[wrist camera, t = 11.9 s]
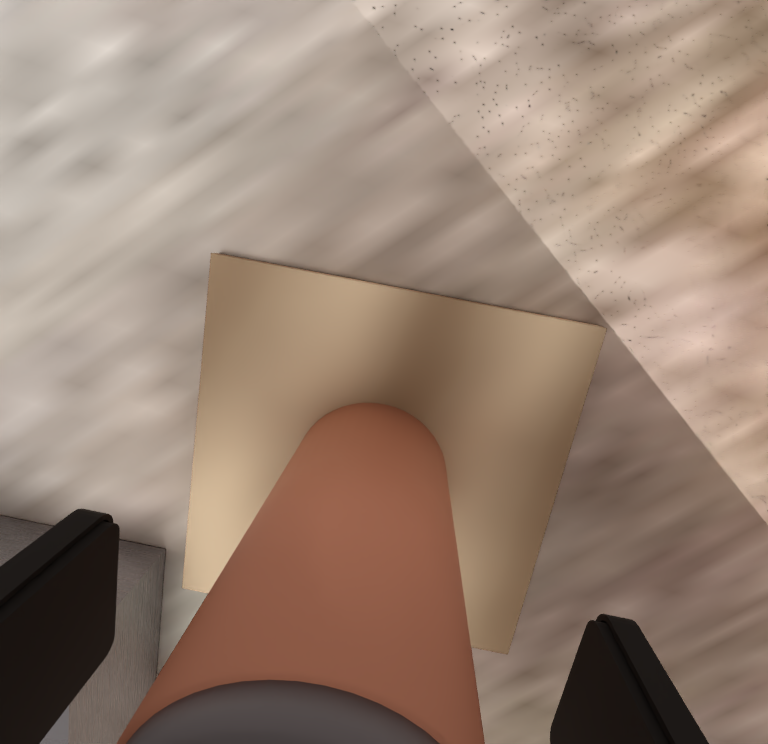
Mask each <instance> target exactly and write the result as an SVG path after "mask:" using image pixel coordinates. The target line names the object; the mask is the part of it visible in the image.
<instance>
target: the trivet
mask: <svg viewBox="0 0 768 744" xmlns="http://www.w3.org/2000/svg"><path fill="white" fill-rule="evenodd" d="M606 330H607V328H604V327H602V326H599V325H594V324H588V323H583V322H578V321H572V320H567V319H562V318H557V317H551V316H546V315H541V314H536V313H530V312H525V311H520V310H515V309H509V308H504V307H499V306H493V305H488V304H483V303H478V302H472V301H467V300H462V299H457V298H451V297H446V296H441V295H436V294H430V293H425V292H420V291H414V290H409V289H404V288H399V287H393V286H388V285H383V284H378V283H372V282H367V281H362V280H357V279H351V278H346V277H341V276H336V275H330V274H325V273H320V272H314V271H309V270H304V269H299V268H293V267H288V266H283V265H278V264H272V263H267V262H262V261H257V260H251V259H246V258H241V257H235V256H230V255H225V254H220V253H211V259H210V271H209V282H208V294H207V306H206V317H205V329H204V340H203V352H202V363H201V375H200V386H199V398H198V409H197V421H196V432H195V444H194V456H193V467H192V479H191V490H190V502H189V513H188V525H187V536H186V548H185V559H184V571H183V583H182V588H184V589H189V590H194V591H199V592H204V593H209V592H210V590H211V588H212V587H213V585H214V583H215V582H216V580H217V578H218V577H219V575H220V574H221V572H222V570H223V569H224V567H225V565H226V564H227V562H228V561H229V559H230V557H231V556H232V554H233V552H234V551H235V549H236V547H237V546H238V544H239V543H240V541H241V539H242V538H243V536H244V534H245V533H246V531H247V530H248V528H249V526H250V525H251V523H252V521H253V520H254V518H255V517H256V515H257V513H258V512H259V510H260V508H261V507H262V505H263V503H264V502H265V500H266V499H267V497H268V495H269V494H270V492H271V490H272V489H273V487H274V486H275V484H276V482H277V481H278V479H279V477H280V476H281V474H282V473H283V471H284V469H285V468H286V466H287V464H288V463H289V461H290V459H291V458H292V456H293V455H294V453H295V451H296V450H297V448H298V446H299V445H300V443H301V442H302V440H303V438H304V437H305V435H306V434H307V432H308V431H309V430H310V428H311V427H312V426H313V425H314V424H315V423H316V422H317V421H318V420H319V419H321V418H322V417H323V416H325V415H326V414H328V413H330V412H332V411H333V410H335V409H338V408H341V407H343V406H347V405H351V404H356V403H379V404H385V405H389V406H393V407H396V408H398V409H401V410H403V411H405V412H407V413H409V414H410V415H412V416H414V417H415V418H416V419H418V420H419V421H420V422H421V423H423V424H424V425H425V426H426V427H427V428H428V429H429V431H430V432H431V433H432V435H433V436H434V437H435V439H436V441H437V442H438V444H439V446H440V448H441V451H442V453H443V457H444V460H445V465H446V472H447V479H448V486H449V494H450V501H451V508H452V515H453V522H454V529H455V536H456V543H457V550H458V557H459V565H460V572H461V579H462V586H463V593H464V600H465V607H466V614H467V621H468V628H469V635H470V643H471V647H473V648H478V649H483V650H487V651H492V652H497V653H502V654H507V655H508V652H509V648H510V645H511V642H512V639H513V635H514V632H515V629H516V625H517V622H518V619H519V616H520V612H521V609H522V606H523V602H524V599H525V596H526V593H527V589H528V586H529V583H530V580H531V576H532V573H533V570H534V566H535V563H536V560H537V557H538V553H539V550H540V547H541V543H542V540H543V537H544V534H545V530H546V527H547V524H548V520H549V517H550V514H551V511H552V507H553V504H554V501H555V498H556V494H557V491H558V488H559V484H560V481H561V478H562V475H563V471H564V468H565V465H566V461H567V458H568V455H569V452H570V448H571V445H572V442H573V438H574V435H575V432H576V429H577V425H578V422H579V419H580V416H581V412H582V409H583V406H584V402H585V399H586V396H587V393H588V389H589V386H590V383H591V379H592V376H593V373H594V370H595V366H596V363H597V360H598V357H599V353H600V350H601V347H602V343H603V340H604V337H605V334H606Z"/></svg>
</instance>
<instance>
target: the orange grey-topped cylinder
mask: <svg viewBox="0 0 768 744" xmlns="http://www.w3.org/2000/svg"><path fill="white" fill-rule="evenodd" d="M117 744H485V742H484V735H483V728H482V721H481V713H480V706H479V699H478V692H477V685H476V678H475V671H474V664H473V657H472V650H471V643H470V635H469V628H468V621H467V614H466V607H465V600H464V593H463V586H462V579H461V572H460V565H459V557H458V550H457V543H456V536H455V529H454V522H453V515H452V508H451V501H450V494H449V486H448V479H447V472H446V465H445V460H444V457H443V453H442V451H441V448H440V446H439V444H438V442H437V441H436V439H435V437H434V436H433V435H432V433H431V432H430V431H429V429H428V428H427V427H426V426H425V425H424V424H423V423H421V422H420V421H419V420H418V419H416V418H415V417H414V416H412V415H410V414H409V413H407V412H405V411H403V410H401V409H398V408H396V407H393V406H389V405H385V404H379V403H356V404H351V405H347V406H343V407H341V408H338V409H335V410H333V411H332V412H330V413H328V414H326V415H325V416H323V417H322V418H321V419H319V420H318V421H317V422H316V423H315V424H314V425H313V426H312V427H311V428H310V430H309V431H308V432H307V434H306V435H305V437H304V438H303V440H302V442H301V443H300V445H299V446H298V448H297V450H296V451H295V453H294V455H293V456H292V458H291V459H290V461H289V463H288V464H287V466H286V468H285V469H284V471H283V473H282V474H281V476H280V477H279V479H278V481H277V482H276V484H275V486H274V487H273V489H272V490H271V492H270V494H269V495H268V497H267V499H266V500H265V502H264V503H263V505H262V507H261V508H260V510H259V512H258V513H257V515H256V517H255V518H254V520H253V521H252V523H251V525H250V526H249V528H248V530H247V531H246V533H245V534H244V536H243V538H242V539H241V541H240V543H239V544H238V546H237V547H236V549H235V551H234V552H233V554H232V556H231V557H230V559H229V561H228V562H227V564H226V565H225V567H224V569H223V570H222V572H221V574H220V575H219V577H218V578H217V580H216V582H215V583H214V585H213V587H212V588H211V590H210V592H209V593H208V595H207V596H206V598H205V600H204V601H203V603H202V605H201V606H200V608H199V609H198V611H197V613H196V614H195V616H194V618H193V619H192V621H191V622H190V624H189V626H188V627H187V629H186V631H185V632H184V634H183V636H182V637H181V639H180V640H179V642H178V644H177V645H176V647H175V649H174V650H173V652H172V653H171V655H170V657H169V658H168V660H167V662H166V663H165V665H164V666H163V668H162V670H161V671H160V673H159V675H158V676H157V678H156V680H155V681H154V683H153V684H152V686H151V688H150V689H149V691H148V693H147V694H146V696H145V697H144V699H143V701H142V702H141V704H140V706H139V707H138V709H137V711H136V712H135V714H134V715H133V717H132V719H131V720H130V722H129V724H128V725H127V727H126V728H125V730H124V732H123V733H122V735H121V737H120V738H119V740H118V742H117Z"/></svg>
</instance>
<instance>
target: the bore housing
mask: <svg viewBox="0 0 768 744" xmlns="http://www.w3.org/2000/svg"><path fill="white" fill-rule="evenodd" d="M52 527H54V526H49V525H44V524H39V523H34V522H30V521H25V520H20V519H15V518H10V517H5V516H0V566H2V565H3V564H4V563H6V562H7V561H8V560H10V559H11V558H12V557H14V556H15V555H16V554H18V553H19V552H20V551H22V550H23V549H24V548H26V547H27V546H28V545H30V544H31V543H32V542H34V541H35V540H36V539H38V538H39V537H40V536H42V535H43V534H44V533H46V532H47V531H48V530H50V529H51V528H52ZM164 563H165V549H163V548H158V547H153V546H148V545H143V544H138V543H133V542H128V541H123V540H119V554H118V576H117V598H116V620H115V637H114V641H113V644H112V647H111V649H110V651H109V653H108V655H107V656H106V658H105V659H104V660H103V662H102V663H101V664H100V666H99V667H98V668H97V670H96V671H95V672H94V673H93V675H92V676H91V677H90V679H89V680H88V681H87V682H86V684H85V685H84V686H83V688H82V689H81V690H80V692H79V693H78V694H77V695H76V697H75V698H74V699H73V701H72V702H71V703H70V705H69V706H68V707H67V708H66V710H65V711H64V712H63V714H62V715H61V716H60V718H59V719H58V720H57V721H56V723H55V724H54V725H53V727H52V728H51V729H50V731H49V732H48V733H47V734H46V736H45V737H44V738H43V740H42V741H41V742H40V744H117V742H118V740H119V738H120V737H121V735H122V733H123V732H124V730H125V728H126V727H127V725H128V724H129V722H130V720H131V719H132V717H133V715H134V714H135V712H136V711H137V709H138V707H139V706H140V704H141V702H142V701H143V699H144V697H145V696H146V694H147V693H148V691H149V689H150V688H151V686H152V684H153V683H154V681H155V680H156V670H157V657H158V643H159V630H160V616H161V603H162V590H163V576H164Z"/></svg>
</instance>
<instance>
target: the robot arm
mask: <svg viewBox="0 0 768 744" xmlns="http://www.w3.org/2000/svg"><path fill="white" fill-rule="evenodd" d="M119 532H120V531H119V526H118V525H117V524H114V523H113V518H112V516H111V515H109V514H105V513H100V512H95V511H90V510H86V509H77V510H76V511H74V512H72V513H71V514H70V515H68V516H67V517H66V518H64V519H63V520H62V521H60V522H59V523H58V524H56V525H55V526H54V527H52V528H51V529H50V530H48V531H47V532H46V533H44V534H43V535H42V536H40V537H39V538H38V539H36V540H35V541H34V542H32V543H31V544H30V545H28V546H27V547H26V548H24V549H23V550H22V551H20V552H19V553H18V554H16V555H15V556H14V557H12V558H11V559H10V560H8V561H7V562H6V563H4V564H3V565H2V566H0V744H40V742H41V741H42V740H43V738H44V737H45V736H46V734H47V733H48V732H49V731H50V729H51V728H52V727H53V725H54V724H55V723H56V721H57V720H58V719H59V718H60V716H61V715H62V714H63V712H64V711H65V710H66V708H67V707H68V706H69V705H70V703H71V702H72V701H73V699H74V698H75V697H76V695H77V694H78V693H79V692H80V690H81V689H82V688H83V686H84V685H85V684H86V682H87V681H88V680H89V679H90V677H91V676H92V675H93V673H94V672H95V671H96V670H97V668H98V667H99V666H100V664H101V663H102V662H103V660H104V659H105V658H106V656H107V655H108V653H109V651H110V649H111V647H112V644H113V641H114V637H115V620H116V598H117V576H118V554H119ZM550 743H551V744H709V743H708V741H707V740H706V738H705V736H704V735H703V733H702V731H701V730H700V728H699V726H698V725H697V723H696V721H695V720H694V718H693V716H692V715H691V713H690V711H689V710H688V708H687V706H686V705H685V703H684V701H683V700H682V698H681V696H680V695H679V693H678V691H677V690H676V688H675V686H674V685H673V683H672V681H671V680H670V678H669V676H668V675H667V673H666V671H665V670H664V668H663V666H662V665H661V663H660V661H659V660H658V658H657V656H656V655H655V653H654V651H653V650H652V648H651V646H650V645H649V643H648V641H647V639H646V638H645V636H644V634H643V633H642V631H641V629H640V628H639V626H638V625H637V624H636V622H635V621H633V620H630V619H625V618H621V617H616V616H611V615H606V614H600V615H599V616H598V617H597V619H596V621H594V620H590V621H589V622H588V624H587V626H586V628H585V631H584V634H583V637H582V640H581V643H580V645H579V648H578V651H577V654H576V657H575V660H574V663H573V665H572V668H571V671H570V674H569V677H568V680H567V682H566V685H565V688H564V691H563V694H562V697H561V700H560V702H559V705H558V708H557V711H556V714H555V717H554V720H553V722H552V726H551V731H550Z"/></svg>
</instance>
